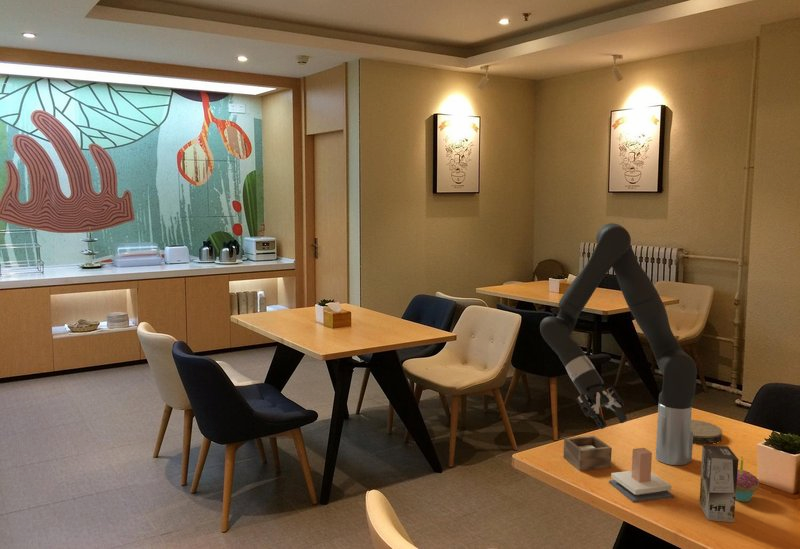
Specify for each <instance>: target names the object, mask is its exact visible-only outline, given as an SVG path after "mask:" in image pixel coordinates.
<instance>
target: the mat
mask: <svg viewBox="0 0 800 549" xmlns="http://www.w3.org/2000/svg"><path fill="white" fill-rule="evenodd" d="M608 483H609V484H610V485H611V486H612V487H613V488H614V489H616V490H617V491H619V492H620V493H621V494H623V495H624V496H625V497H626V498H627V499H629V500H630V501H631V502H632V503H637V502H645V501H653V500H654V501H655V500H663V499H671V498H674V497H675V495H674V494H673V493H672V492H670V490H666V491H660V492H655V493H648V494H640V495H635V494H633V493H632V492H631V491H629V490H628V489H627V488H625V487H624V486H623V485H621V484H620V483H618V482H617V481H616V480H614V479H611V480H608Z"/></svg>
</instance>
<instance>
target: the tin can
mask: <svg viewBox="0 0 800 549" xmlns="http://www.w3.org/2000/svg"><path fill="white" fill-rule="evenodd" d="M691 430H692V431H693V444H694V443H696V444H695V445H704V444H706V445H714V444H713V443H715V444H718V443H717V442H719V441H720V442H722V439H723V438H722V437H723V430H722V428H721V427H719V426H718V425H716V424H713V423H710V422H707V421H704V420H703V421H702V420H697V419H691ZM720 442H719V443H720Z"/></svg>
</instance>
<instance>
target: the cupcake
mask: <svg viewBox="0 0 800 549" xmlns="http://www.w3.org/2000/svg"><path fill="white" fill-rule="evenodd" d="M739 461H740V462H739V469H738V473H737V486H736V500H735V501H737V502H750V501H751V499H752V497H753V495H754V494H755V493H756V491H757V490H759V488H760V481H759V478H757V476H756V475H754V474H753V473H751V472H749V471H746V470H745V469H744V458H743V457H741V458H740V459H739Z"/></svg>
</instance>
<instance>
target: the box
mask: <svg viewBox="0 0 800 549" xmlns="http://www.w3.org/2000/svg"><path fill="white" fill-rule="evenodd" d="M612 449H613V448H612V447H611V446H610V445H608V444H607V443H605V442H604V441H603V440H601V439H600V438H598V437H597V436H595V435H587V436H586V435H585V436H577V437H575V436H574V437H567V438H563V459H564V460H566V461H567V462H568V463H570V465H572V466H574V468H576V469H577V470H578V471H579V472H582V471H590V470H601V469H602V470H603V469H611V467H612Z"/></svg>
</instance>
